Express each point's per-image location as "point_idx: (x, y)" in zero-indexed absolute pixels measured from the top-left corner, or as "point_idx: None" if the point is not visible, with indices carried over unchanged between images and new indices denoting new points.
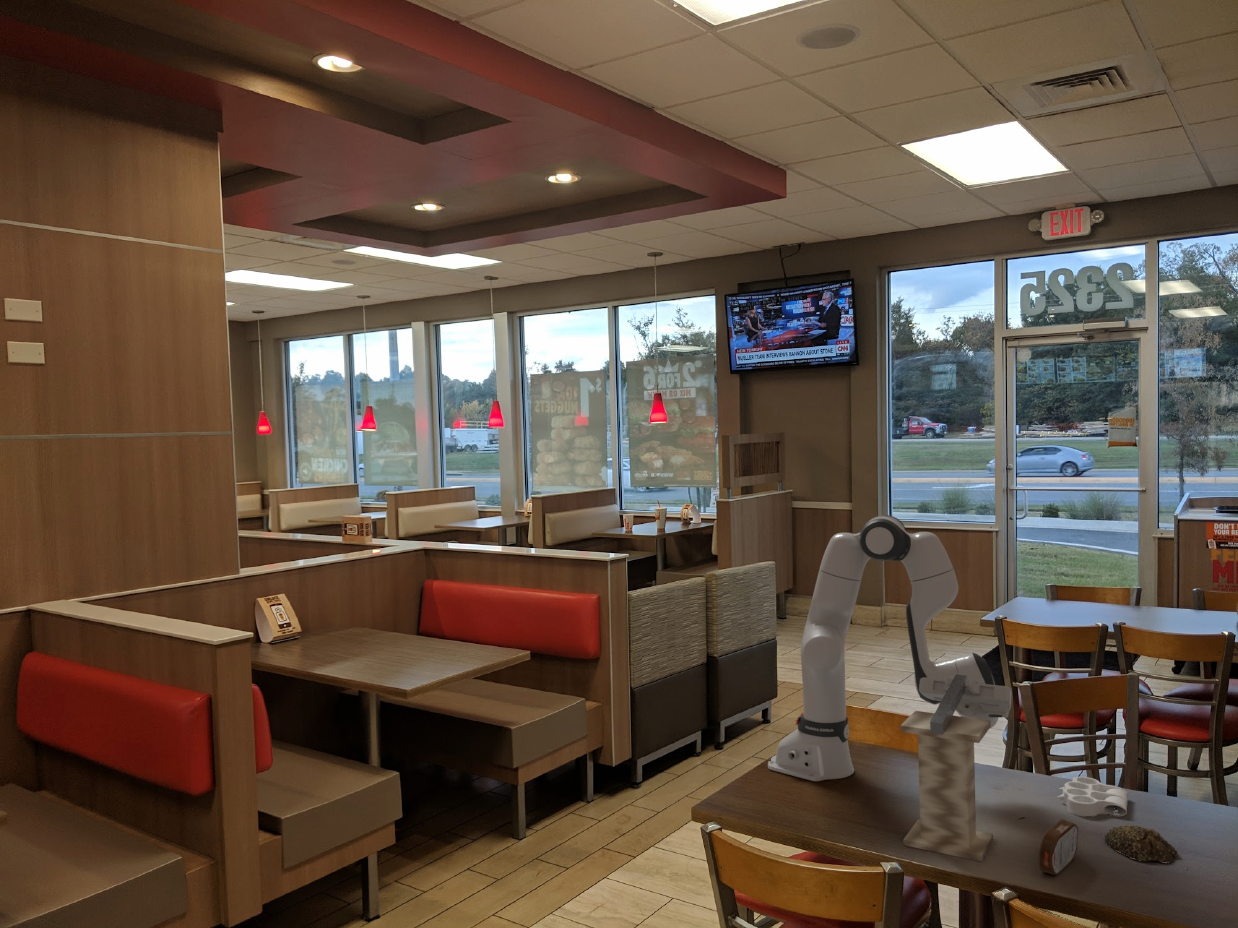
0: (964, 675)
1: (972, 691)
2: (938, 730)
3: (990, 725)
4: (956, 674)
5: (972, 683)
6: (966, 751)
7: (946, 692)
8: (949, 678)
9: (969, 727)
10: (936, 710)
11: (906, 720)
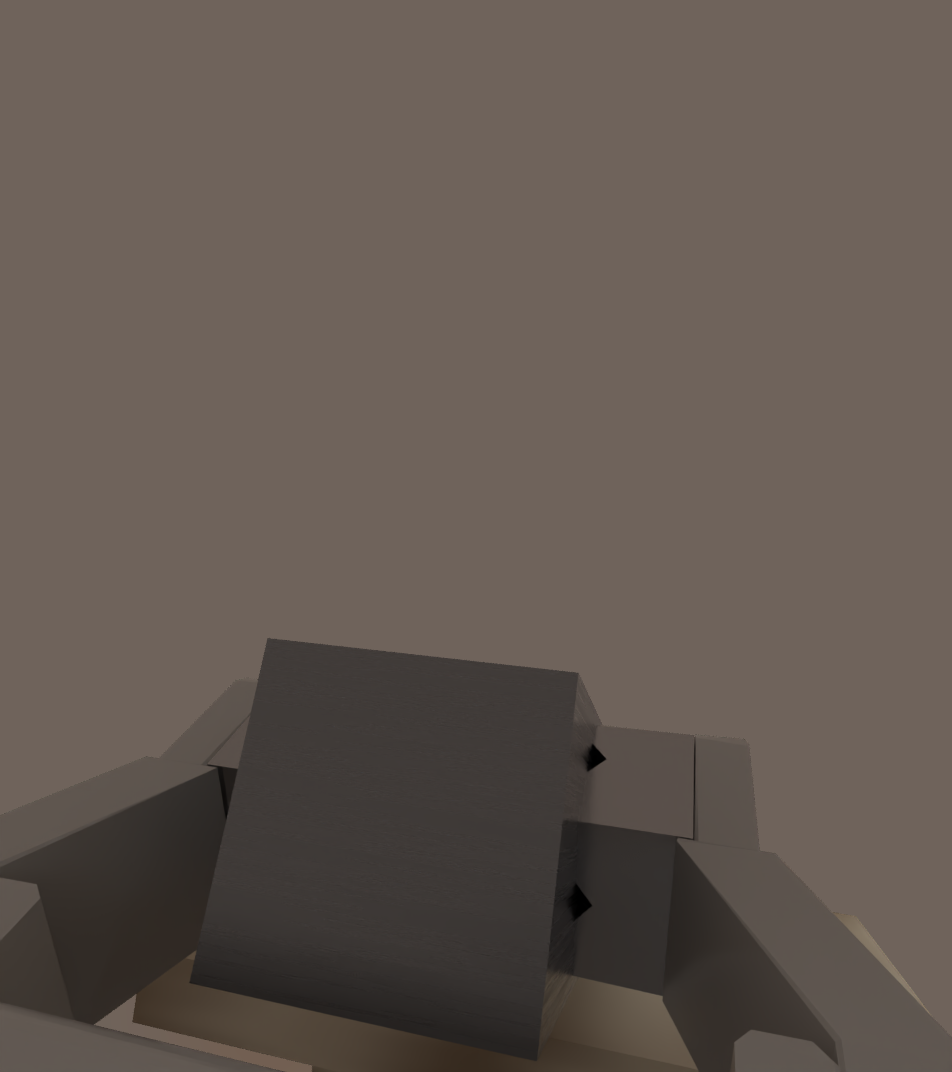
0: (334, 651)
1: (148, 973)
2: None
3: (138, 1004)
4: (555, 677)
5: (180, 765)
6: None
7: None
8: (689, 740)
9: None
10: None
11: (884, 964)
